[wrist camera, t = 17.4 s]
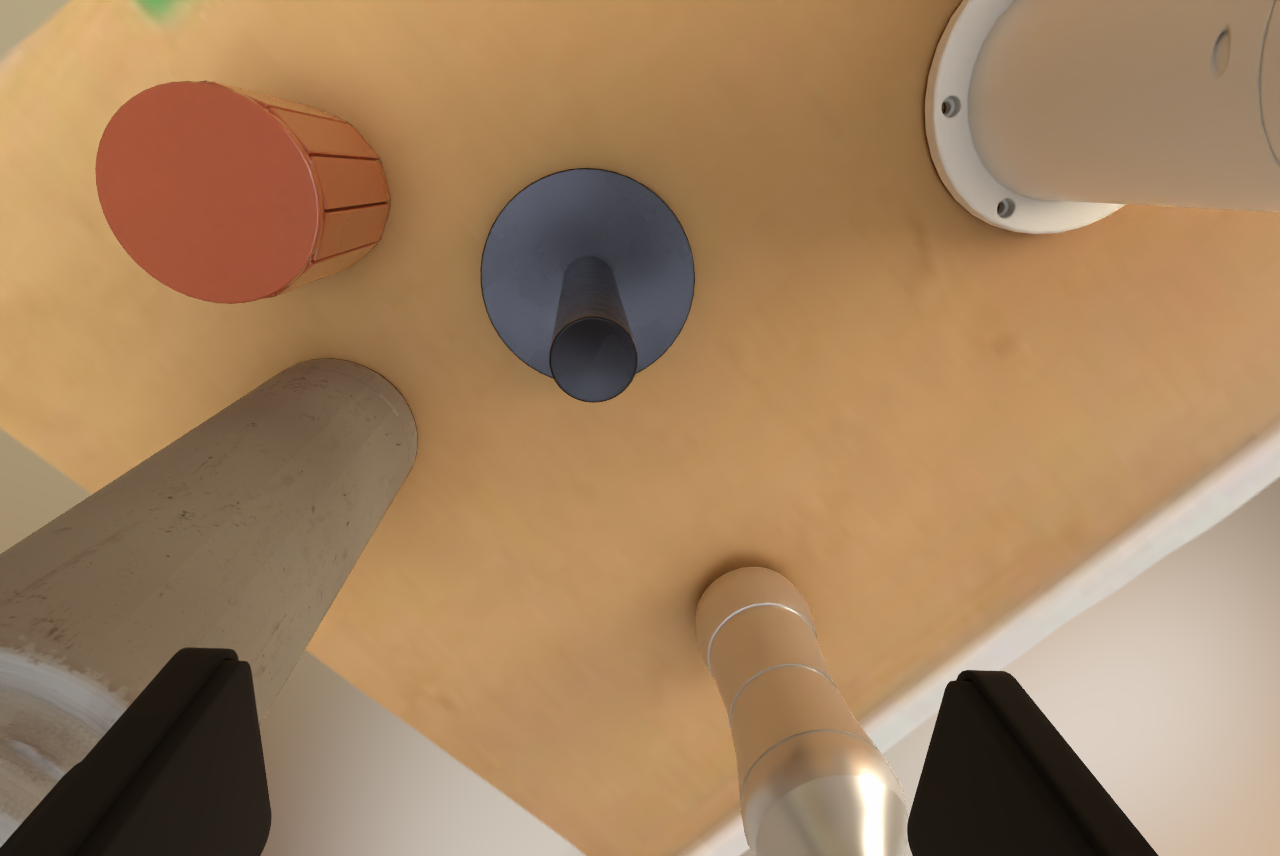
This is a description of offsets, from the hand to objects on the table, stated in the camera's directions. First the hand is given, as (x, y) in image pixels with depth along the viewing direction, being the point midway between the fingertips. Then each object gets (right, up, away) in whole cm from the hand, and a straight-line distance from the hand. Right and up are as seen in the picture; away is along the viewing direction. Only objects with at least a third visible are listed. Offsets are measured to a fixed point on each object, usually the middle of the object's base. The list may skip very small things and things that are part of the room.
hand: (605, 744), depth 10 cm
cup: (-15, +15, +22) cm, 30 cm away
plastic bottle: (+6, -6, +32) cm, 33 cm away
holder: (-2, +12, +24) cm, 27 cm away
